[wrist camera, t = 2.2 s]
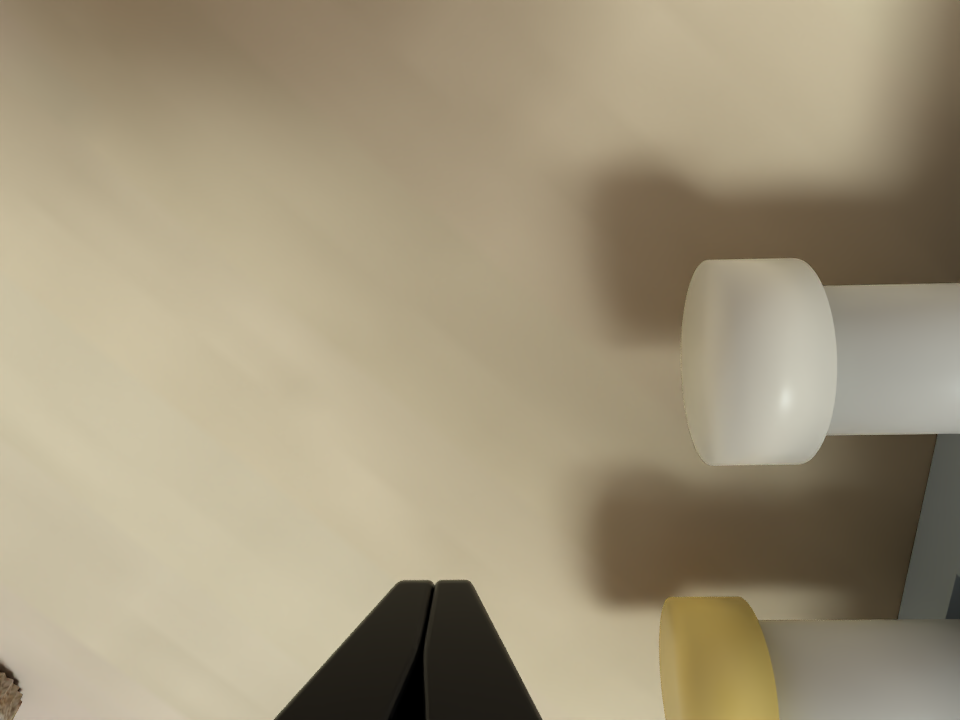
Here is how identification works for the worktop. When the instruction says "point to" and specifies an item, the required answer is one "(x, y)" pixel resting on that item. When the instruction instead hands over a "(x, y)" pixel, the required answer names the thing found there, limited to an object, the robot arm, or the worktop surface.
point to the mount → (937, 541)
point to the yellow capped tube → (804, 665)
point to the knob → (812, 360)
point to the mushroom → (8, 698)
